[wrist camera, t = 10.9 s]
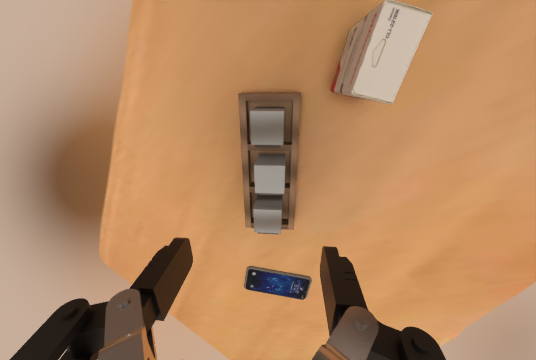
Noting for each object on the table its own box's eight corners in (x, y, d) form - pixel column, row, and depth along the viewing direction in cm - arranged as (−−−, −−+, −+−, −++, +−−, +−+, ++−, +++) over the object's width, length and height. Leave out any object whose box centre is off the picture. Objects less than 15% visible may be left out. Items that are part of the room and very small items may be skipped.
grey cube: (258, 153, 37) (253, 165, 32) (285, 153, 37) (284, 165, 32) (259, 180, 39) (255, 196, 34) (284, 181, 39) (284, 197, 34)
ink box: (360, 99, 34) (393, 106, 23) (329, 91, 34) (348, 94, 23) (384, 35, 31) (437, 9, 20) (350, 27, 31) (384, -5, 20)
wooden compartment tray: (243, 92, 35) (231, 94, 28) (299, 92, 34) (302, 94, 28) (248, 217, 45) (241, 241, 38) (293, 219, 44) (294, 244, 37)
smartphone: (246, 266, 49) (312, 278, 49) (247, 263, 50) (312, 275, 50) (243, 289, 52) (305, 301, 52) (244, 286, 53) (305, 297, 53)
